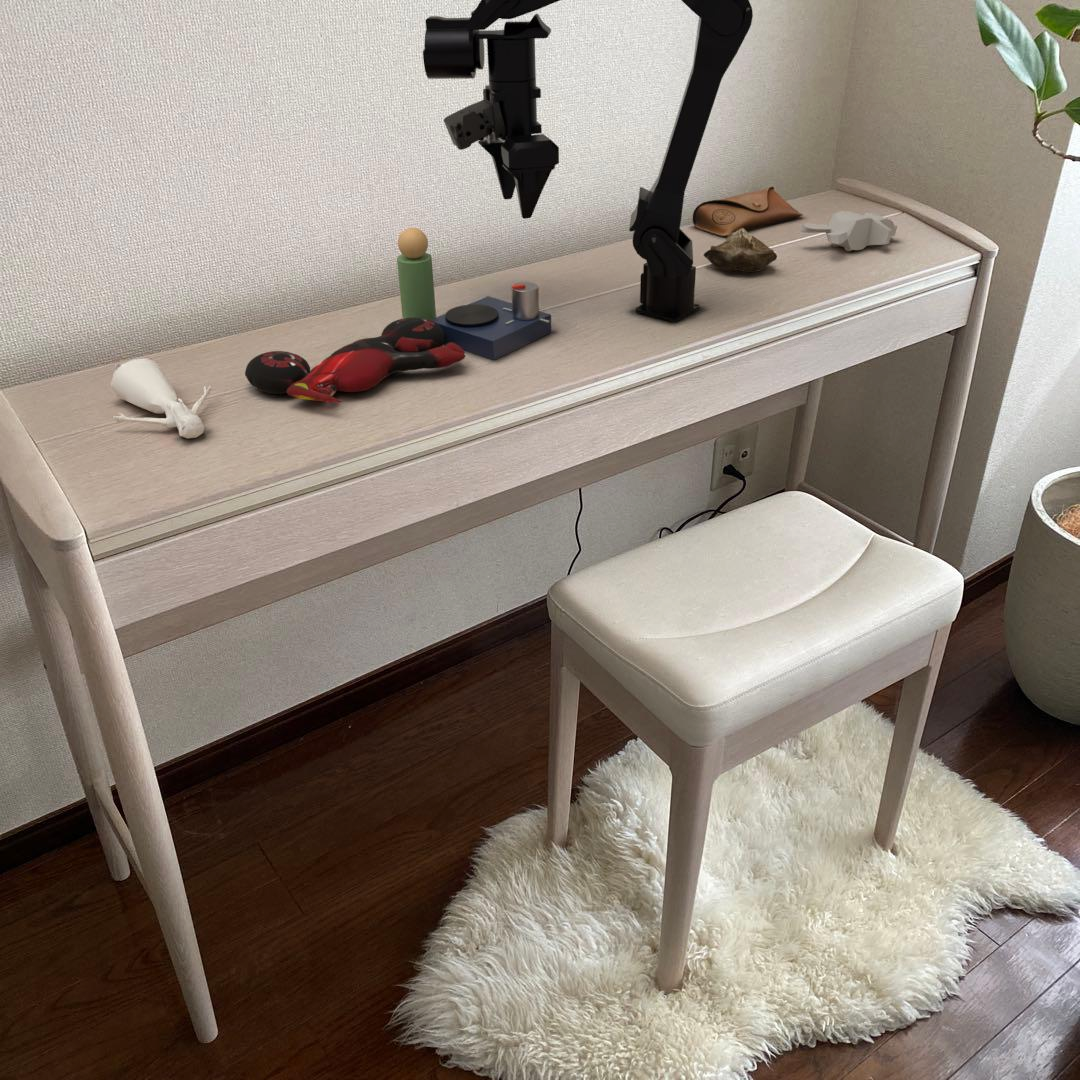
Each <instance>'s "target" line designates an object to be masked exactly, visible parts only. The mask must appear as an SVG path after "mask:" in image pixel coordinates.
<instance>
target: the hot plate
mask: <svg viewBox="0 0 1080 1080" xmlns="http://www.w3.org/2000/svg"><path fill="white" fill-rule="evenodd" d="M473 304H476V305H486V306H490V307H493V308H495V309H496V310H497V311H498V313H499V318H498V320H497V321H495V322H494V323H492V324H490V325H486V326H482V327H475V328H464V327H457V326H453V325H451V324H449V323H447V322H446V320H445V314H446V313H445V314H444V313H443V314H441V315H439V316H436V318H434V319H432V320H431V321H434V322H435V323H437V324H438V325H439V326H440V327H441V328H442V330H443V334H444V342H443V344H445V345H446V344H448V343H449V342H453V343H455V344H457V345H458V346H459V347H460V348H462V349H463V350H464V352H465V351H466V352H468V353H471V354H475V355H478V356H479V357H483V358H486V359H489V360H491V361H495V360H497V359H499V358H502V357H504V356H506V355H508V354H511V353H512V352H514V351H517V350H518V349H521V348H523V347H525V346H527V345H529V344H532V343H533V342H535V341H537V340H539V339H542V338H544V337H546V336H548V335H550V334H552V314H551V313H549V312H548V313H547V312H544V311H541V310H544V309H545V308H547V306H546V305H542V306H539V316H538V317H537V318H535V319H531V320H519V319H516V318H514V317H513V315H512V302H510V301H506V300H503V299H500V298H496V297H493V296H489V295H487V296H485V297H482V298H480V299H477V300H475V301H472V302H471V303H468V304H467V305H473Z"/></svg>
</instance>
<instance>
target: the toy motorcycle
mask: <svg viewBox="0 0 1080 1080" xmlns="http://www.w3.org/2000/svg"><path fill="white" fill-rule="evenodd" d="M443 342H444V334H443V330H442V328H441V327H440V326H439V325H438V324H437V323H435V322H434V321H431V320H429V319H425V318H415V317H412V318H403V317H402V318H400V319H396V320H394V321H391V322H390V323H389V324H387V325H386V326H385V327H384V329H383V330H382V332H381V335H378V336H376V337H366V338H365V337H364V338H361V339H357V340H355V341H353V342H351V343H348V344H346V345H344V346H342V347H340V348H339V349H337V350H335V351H334V352H333V353H331V354H330V355H329V356H328V357H326V358H325V359H323V360H322V361H321V362H320V364H317V365H315V366H314V367H313V368H311V366H310V364H309V362H308V361H307V360H306V359H305V358H303V357H302V356H301V355H298V354H296V353H293V352H290V351H283V350H273V351H272V350H271V351H267V352H263V353H260V354H258V355H256V356H254V357H253V358H252V359H250V361H249V362H248V363H247V365H246V367H245V371H244V375H245V378H246V379H247V382H248V383H249V384H250V385H251V386H252V387H254V388H256V389H257V390H259V391H260V392H264V393H266V394H275V395H276V394H278V395H279V394H280V395H281V394H287V395H288V396H291V397H293V398H295V399H298V400H308V401H316V402H324V403H331V402H332V403H342V401H341V400H340V399H338V398H336V397H335V394H336V393H337V391H339V392H344V393H358V392H364V391H367V390H371V389H372V388H375V387H376V386H377V385H378V384H380V382H382V381H383V380H384V379H385V378H386V377H388V376H390V375H391V374H393V373H395V372H405V371H416V370H422V369H429V370H430V369H431V370H433V369H441V368H445V367H450V366H452V365H453V364H457V363H459V362H461V361H462V360H464V359H465V358H466V354H465V353H466V352H465V350H463V349H462V348H460V347H459V346H458V345H457V344H455V343H453V342H449V343H448V344H445V345H443V344H444V343H443Z"/></svg>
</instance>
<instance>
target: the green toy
mask: <svg viewBox="0 0 1080 1080" xmlns="http://www.w3.org/2000/svg"><path fill="white" fill-rule="evenodd" d="M397 247H398V250H399V252H400V253H401V254H399V255H398V256H397V257H396V263H397V274H398V275H397V276H398V284H399V294H400V306H401V316H402V319H403V318H412V317H415V318H425V319H429V320H432V319H434V318H437V308H436V307H437V306H436V297H435V283H434V270H433V259H432V257H433V256H432V255H431V254H430V253H428V252H427V250H428V248H429V239H428V237H427V235H426V233H425V232H424V231H423V230H421V229H420V228H417V227H408V228H406V229H404V230H403V231H401V233H400V234H399V235H398V237H397Z"/></svg>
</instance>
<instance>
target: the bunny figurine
mask: <svg viewBox="0 0 1080 1080" xmlns="http://www.w3.org/2000/svg"><path fill="white" fill-rule="evenodd" d="M897 230H898V225H896V224H894V221H893V220H891V219H889V218H887V217H883V216H880V215H878V214H875V213H871V212H865V213H864V214H860V213H857V212H853V211H850V210H841V211H836V212H834V213H833V215H832V216H831V219H830V221H829V223H828V224H821V223H820V224H819V223H807V222H806V223H804V224H802V226H801V229H800V231H799V232H800V233H806V234H808V233H809V234H811V233H812V234H813V233H817V234H818V233H824V234H825V236H826V238H827V241H828V243H831V246H832V247H834V248H837V247H843V248H844V251H846V252H851V251H861V250H864V249H865V248H866V247H868V246H885V245H889V244H890V242H891V238H893V237H895V236H896V234H897Z"/></svg>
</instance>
